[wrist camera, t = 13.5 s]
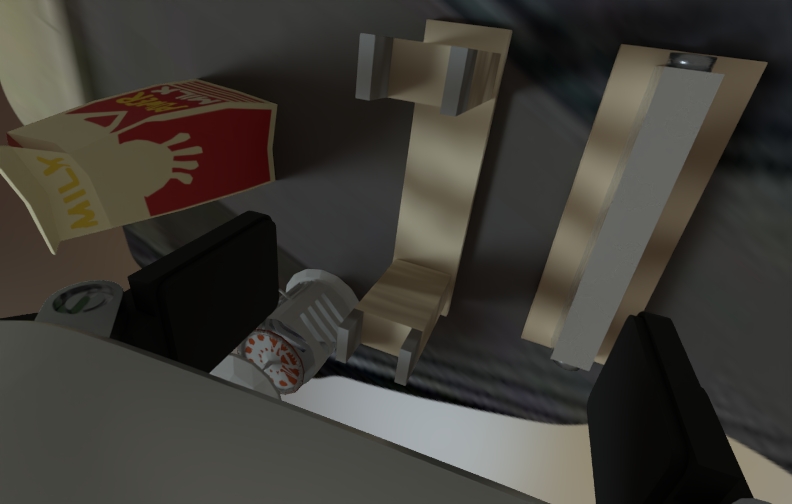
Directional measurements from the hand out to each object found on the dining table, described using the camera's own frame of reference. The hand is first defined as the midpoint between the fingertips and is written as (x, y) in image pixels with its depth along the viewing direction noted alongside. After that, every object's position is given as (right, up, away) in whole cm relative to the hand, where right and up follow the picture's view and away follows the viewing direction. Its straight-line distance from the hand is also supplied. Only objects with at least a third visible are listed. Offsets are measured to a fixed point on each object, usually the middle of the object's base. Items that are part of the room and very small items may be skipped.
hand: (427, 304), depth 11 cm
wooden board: (+16, +3, +20) cm, 26 cm away
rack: (+3, +7, +24) cm, 25 cm away
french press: (-9, -4, +34) cm, 36 cm away
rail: (+16, +3, +20) cm, 25 cm away
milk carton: (-16, +13, +29) cm, 36 cm away
